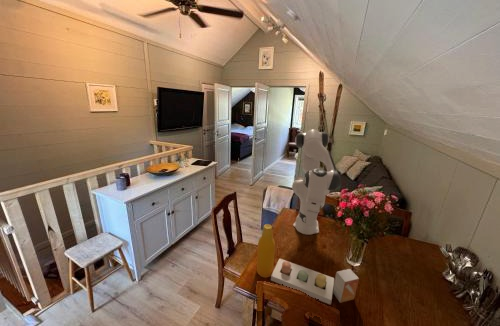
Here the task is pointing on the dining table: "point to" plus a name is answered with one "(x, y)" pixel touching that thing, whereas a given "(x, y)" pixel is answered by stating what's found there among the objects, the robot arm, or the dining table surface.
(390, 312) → the dining table surface
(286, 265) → the terracotta button
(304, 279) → the green button
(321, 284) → the mustard button
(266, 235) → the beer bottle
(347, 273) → the small box
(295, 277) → the board
